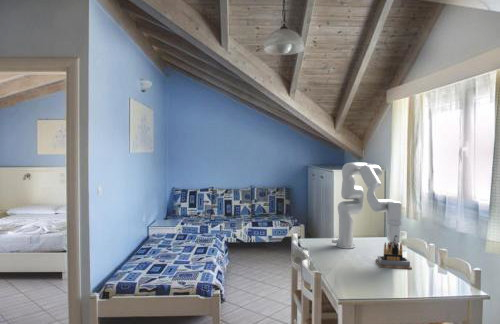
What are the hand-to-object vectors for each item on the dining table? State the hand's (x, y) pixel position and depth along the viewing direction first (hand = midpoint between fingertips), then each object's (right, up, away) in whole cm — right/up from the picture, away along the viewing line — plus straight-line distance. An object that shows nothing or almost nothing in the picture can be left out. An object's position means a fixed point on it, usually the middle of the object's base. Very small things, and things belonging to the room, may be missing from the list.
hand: (393, 252), depth 214 cm
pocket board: (0, -7, 0) cm, 7 cm away
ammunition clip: (0, -6, 0) cm, 6 cm away
